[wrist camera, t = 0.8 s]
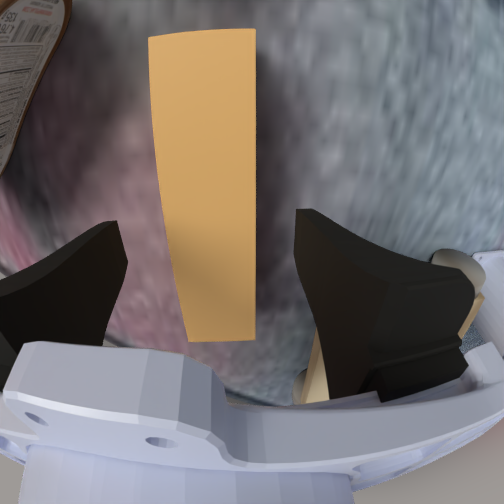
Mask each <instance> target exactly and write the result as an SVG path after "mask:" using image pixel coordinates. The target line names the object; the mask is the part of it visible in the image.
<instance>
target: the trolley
mask: <svg viewBox="0 0 504 504" xmlns="http://www.w3.org/2000/svg"><path fill="white" fill-rule="evenodd" d="M431 263H432V264H436V265H442V266H447V267H453V268H458V269H460V270H462V272H463V273H464V274H465V275H466V276H467V277H468V279H469V280H470V281H471V282H472V284H473V285H474V287H475V299H474V304H473V306H472V308H471V311H470V313H469V315H468V317H467V318H466V320H465V322H464V324H463V325H462V327H461V329H460V331H459V332H458V335H459V337H460V338H461V340H462V338H463V336H464V335H465V333H466V332H467V330H468V328H469V327H470V325H471V323H472V321H473V320H474V318H475V316H476V314H477V313H478V311H479V309H480V307H481V305H482V303H483V301H484V299H485V297H484V296H483V295H482V293H481V292H480V291H481V289H482V287H483V285H484V282H485V280H486V274H485V271H484V269H483V268H482V266H481V265H480V264H479V263H478V262H477V261H476V260H475V259H473V258H472V257H470V256H469V255H467V254H465V253H463V252H460V251H457V250H454V249H440V250H438V251H436V252H435V253H434V256H433V259H432V262H431ZM292 400H293V403H294V405H299V404H306V403H313V402H320V401H326V400H329V393H328V386H327V379H326V373H325V366H324V361H323V356H322V350H321V345H320V341H319V336H318V331H317V327H316V332H315V337H314V341H313V346H312V351H311V356H310V360H309V365H308V369H307V370H305V371H303V372H301V373H300V374H299V375H298V376H297V378H296V379H295V381H294V385H293V390H292Z"/></svg>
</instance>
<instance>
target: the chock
mask: <svg viewBox="0 0 504 504" xmlns="http://www.w3.org/2000/svg"><path fill="white" fill-rule="evenodd" d="M148 46H149V78H150V96H151V111H152V124H153V135H154V145H155V155H156V163H157V172H158V180H159V187H160V195H161V202H162V209H163V215H164V222H165V228H166V234H167V240H168V245H169V251H170V257H171V262H172V267H173V272H174V277H175V282H176V287H177V292H178V297H179V301H180V306H181V310H182V315H183V319H184V324H185V328H186V332H187V336H188V340H189V342H215V341H244V340H255V285H256V29H217V30H202V31H191V32H181V33H173V34H166V35H160V36H153V37H148Z"/></svg>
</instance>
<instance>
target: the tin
mask: <svg viewBox="0 0 504 504" xmlns="http://www.w3.org/2000/svg"><path fill="white" fill-rule="evenodd" d="M71 10H72V0H0V178H1V176H2V174H3V172H4V170H5V168H6V166H7V164H8V161H9V159H10V157H11V154H12V152H13V149H14V146H15V143H16V140H17V137H18V134H19V131H20V128H21V126H22V123H23V120H24V117H25V115H26V112H27V110H28V107H29V105H30V103H31V100H32V98H33V95H34V93H35V91H36V89H37V86H38V84H39V82H40V80H41V78H42V76H43V74H44V72H45V70H46V68H47V66H48V64H49V62H50V60H51V58H52V56H53V54H54V53H55V51H56V49H57V47H58V45H59V43H60V41H61V39H62V37H63V35H64V32H65V30H66V27H67V24H68V22H69V19H70V15H71Z"/></svg>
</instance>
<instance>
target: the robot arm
mask: <svg viewBox="0 0 504 504" xmlns="http://www.w3.org/2000/svg"><path fill="white" fill-rule="evenodd" d="M294 258H295V263H296V267H297V272H298V275H299V278H300V281H301V283H302V286H303V289H304V292H305V294H306V297H307V300H308V302H309V305H310V308H311V311H312V313H313V316H314V320H315V323H316V327H317V331H318V336H319V341H320V345H321V350H322V356H323V361H324V366H325V373H326V379H327V386H328V393H329V400H326V401H320V402H313V403H306V404H299V405H290V406H281V407H269V406H256V405H244V404H234V403H228V402H227V400H226V395H225V390H224V385H223V383H222V382H221V380H220V379H219V378H218V376H217V375H216V374H215V372H214V371H213V369H212V368H211V367H209V366H207V365H206V364H204V363H201V362H199V361H197V360H195V359H193V358H191V357H189V356H187V355H185V354H183V353H178V352H172V351H166V350H160V349H154V348H129V347H107V346H102V345H103V340H104V335H105V331H106V328H107V324H108V321H109V319H110V316H111V313H112V311H113V308H114V305H115V303H116V300H117V297H118V295H119V292H120V290H121V287H122V284H123V282H124V278H125V274H126V269H127V265H128V260H127V257H126V253H125V250H124V246H123V242H122V239H121V235H120V231H119V227H118V223H117V220H116V221H106V222H102V223H100V224H98V225H96V226H94V227H92V228H91V229H89V230H87V231H86V232H84V233H83V234H81V235H80V236H78V237H77V238H75V239H74V240H72V241H71V242H69V243H68V244H66V245H64V246H63V247H61V248H60V249H58V250H57V251H55V252H54V253H52V254H51V255H49V256H47V257H46V258H44V259H42V260H40V261H39V262H37V263H35V264H33V265H31V266H30V267H28V268H25V269H23V270H21V271H19V272H17V273H15V274H13V275H11V276H9V277H6V278H4V279H1V280H0V453H1V454H3V455H4V456H6V457H8V458H10V459H12V460H14V461H16V462H18V463H20V464H22V465H24V466H25V468H24V473H23V478H22V484H21V489H20V495H19V502H18V504H355V503H354V499H353V494H352V492H355V491H358V490H362V489H365V488H368V487H371V486H374V485H377V484H379V483H382V482H385V481H388V480H391V479H393V478H396V477H399V476H401V475H404V474H406V473H408V472H411V471H413V470H415V469H418V468H420V467H422V466H424V465H426V464H429V463H431V462H433V461H435V460H437V459H439V458H441V457H443V456H445V455H447V454H449V453H451V452H452V451H455V450H456V449H458V448H460V447H462V446H464V445H466V444H467V443H469V442H471V441H473V440H474V439H476V438H478V437H480V436H481V435H482V434H484V433H485V432H486V431H488V430H489V429H490V428H491V427H492V426H494V425H495V424H496V423H497V422H498V421H500V419H502V418H503V417H504V250H499V251H488V252H477V253H475V254H473V256H472V258H473V259H475V260H476V261H477V262H478V263H479V264H480V265H481V266H482V268H483V269H484V271H485V274H486V280H485V282H484V285H483V287H482V289H481V291H480V292H481V293H482V295H483V296H484V297H485V299H484V301H483V303H482V305H481V307H480V309H479V311H478V313H477V314H476V316H475V318H474V320H473V321H472V324H473V325H474V326H475V328H476V329H477V331H478V332H479V334H480V335H481V337H482V339H483V340H484V342H485V343H484V344H482V345H479V346H477V347H474V348H472V349H470V350H468V351H467V352H466V353H464V354H462V353H461V351H460V349H459V347H460V346H461V344H462V340H461V338H460V337H459V335H458V332H459V331H460V329H461V327H462V325H463V324H464V322H465V320H466V318H467V317H468V315H469V313H470V311H471V308H472V306H473V304H474V299H475V287H474V285H473V284H472V282H471V281H470V280H469V279H468V277H467V276H466V275H465V274H464V273H463V272H462V270H460V269H458V268H453V267H447V266H442V265H436V264H432V263H428V262H424V261H420V260H416V259H413V258H410V257H407V256H404V255H401V254H398V253H395V252H392V251H390V250H387V249H385V248H382V247H380V246H378V245H376V244H373V243H371V242H369V241H367V240H365V239H363V238H361V237H359V236H358V235H356V234H354V233H352V232H350V231H349V230H347V229H345V228H344V227H342V226H340V225H339V224H337V223H335V222H334V221H332V220H331V219H329V218H327V217H326V216H324V215H323V214H321V213H319V212H318V211H316V210H314V209H296V223H295V240H294Z"/></svg>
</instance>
